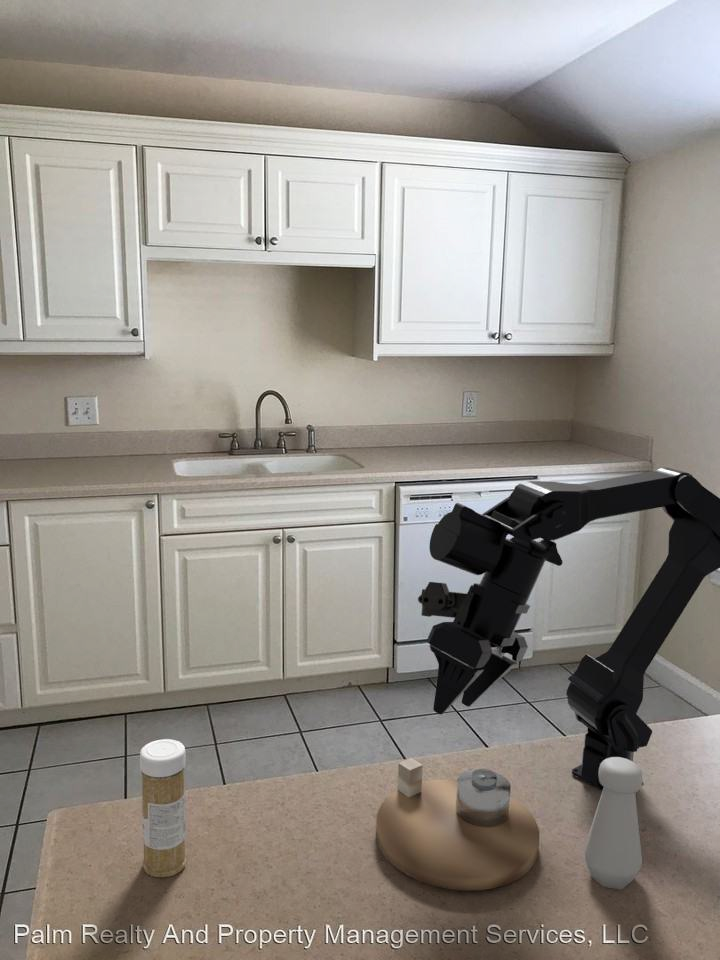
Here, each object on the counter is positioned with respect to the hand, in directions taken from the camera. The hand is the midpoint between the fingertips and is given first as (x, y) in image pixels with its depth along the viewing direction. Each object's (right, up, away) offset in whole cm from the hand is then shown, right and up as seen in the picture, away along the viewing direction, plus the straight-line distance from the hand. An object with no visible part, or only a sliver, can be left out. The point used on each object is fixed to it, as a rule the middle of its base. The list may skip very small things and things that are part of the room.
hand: (451, 708), depth 97 cm
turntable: (0, -14, -4) cm, 14 cm away
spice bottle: (-31, -14, -9) cm, 36 cm away
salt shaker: (+16, -15, -9) cm, 24 cm away
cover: (+3, -11, -2) cm, 12 cm away
